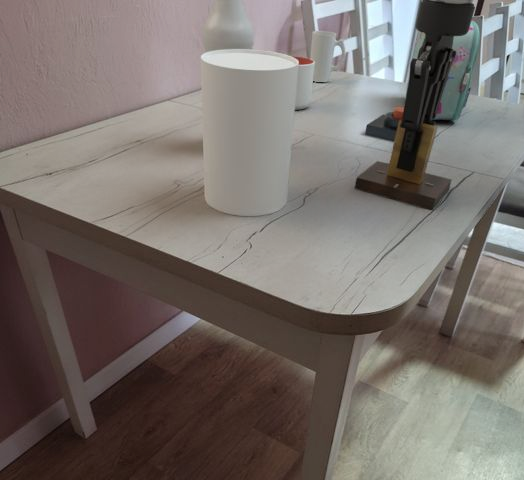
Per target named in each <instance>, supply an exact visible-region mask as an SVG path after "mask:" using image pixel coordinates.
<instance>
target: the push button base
mask: <svg viewBox="0 0 524 480" xmlns="http://www.w3.org/2000/svg"><path fill="white" fill-rule="evenodd" d="M393 113H394V111H389V112H387V113H385V114H381V115H380V116H378V117H377V118H375V119H374V120H372V121H370V122H369V123H367V124H366V127H365V132H364V136H368V137H373V138H378V139H381V140H385V141H391V142H394V141H395V136H396V132H397V127H398V123H399V121H400V120H401V119H398V118H395V117H393Z"/></svg>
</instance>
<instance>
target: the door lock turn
mask: <svg viewBox="0 0 524 480" xmlns="http://www.w3.org/2000/svg"><path fill="white" fill-rule="evenodd" d="M401 122H402V119H401V120H400V121H399V123H398V127H397V132H396V136H395V141H393V145H392V149H391V154H390V159H389V163H388V164H389V168H388V172H387V175H389V176H392V177H396V178H399V179H403V180H406V181H410V182H413V183H417V184H420V183H421V182H422V181H423V179H424V175H425V173H427V172H426V171H427V169H428V168H427V167H428V165H429V160H430V157H431V153H432V150H433V145H434V142H435V139H436V135H437V132H438V126H437V125H434V126H433V125H429V124H425V123H423V124H422V129H421V130H422V131H423V133H422V137H421V141H420V145H419V149H418V152H417V156H416V160H415V164H414V168H413V171H412V172H409V171H405V170H402V169H398V168H396V167H397V163H398V158H399V154H400V150H401V145H402V141H403V137H404V133H405V128H401V127H400V124H401Z"/></svg>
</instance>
